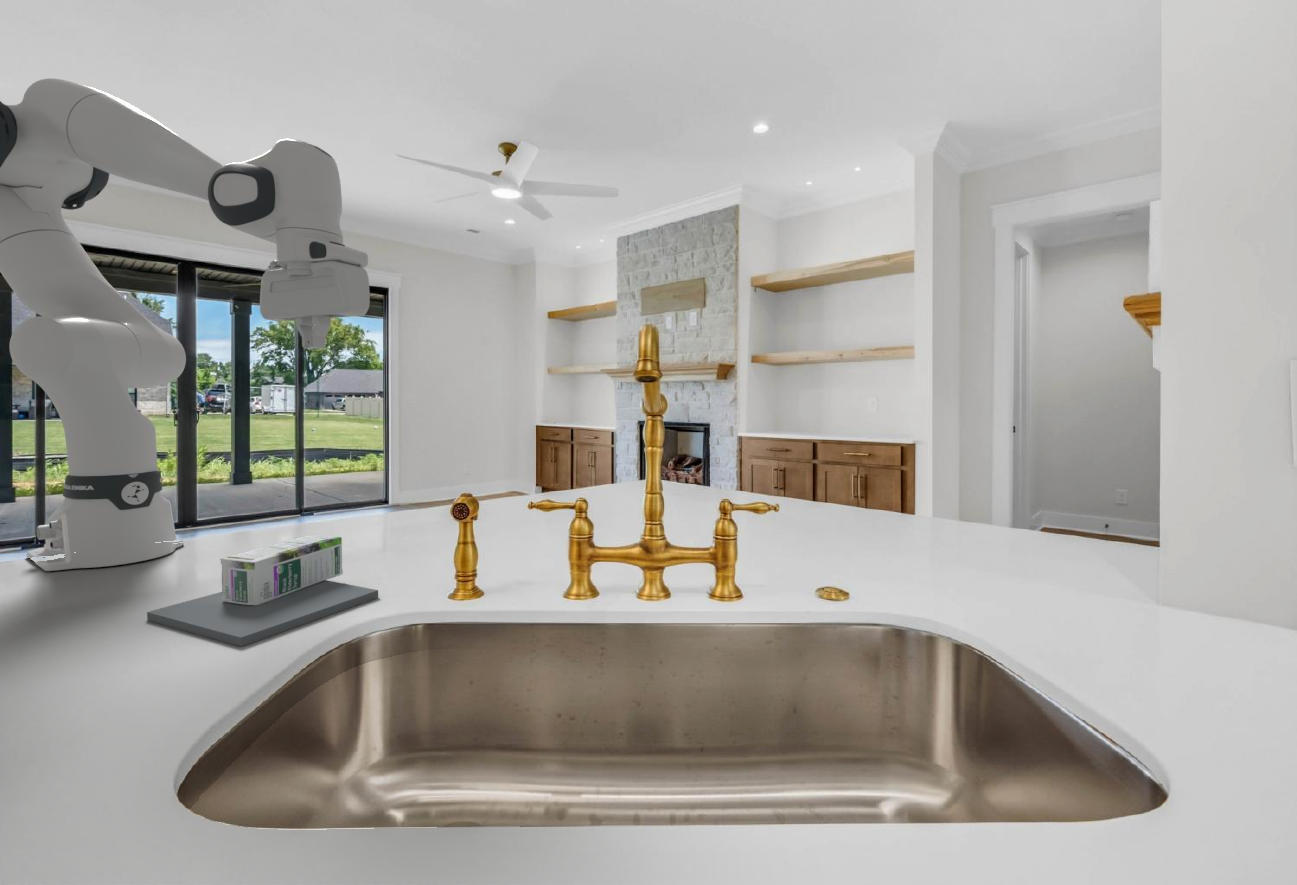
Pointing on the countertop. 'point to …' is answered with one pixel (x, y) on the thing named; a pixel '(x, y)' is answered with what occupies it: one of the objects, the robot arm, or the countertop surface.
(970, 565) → the countertop surface
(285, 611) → the slate mat
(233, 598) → the syrup box
